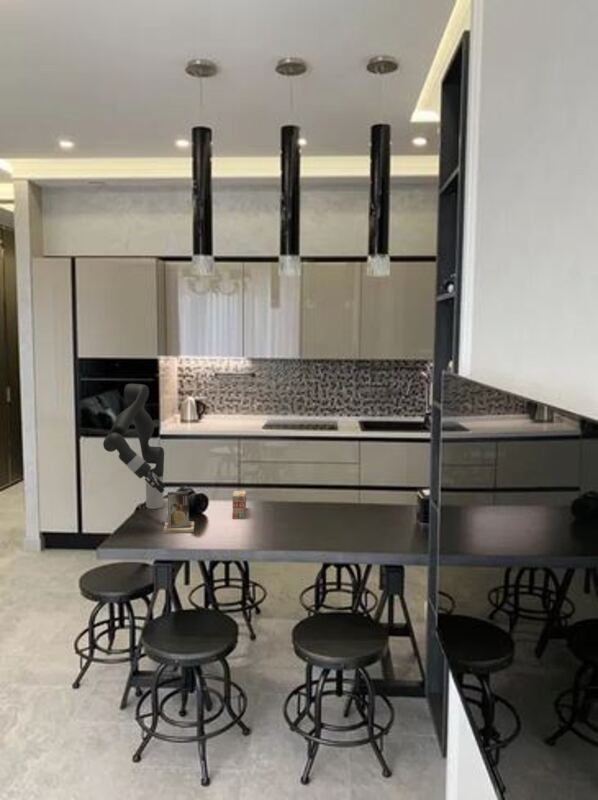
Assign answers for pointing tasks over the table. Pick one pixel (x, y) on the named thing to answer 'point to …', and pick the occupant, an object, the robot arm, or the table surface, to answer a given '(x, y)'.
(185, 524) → the coffee box
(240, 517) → the printed cardboard box
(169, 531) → the birch plate
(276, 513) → the table surface
